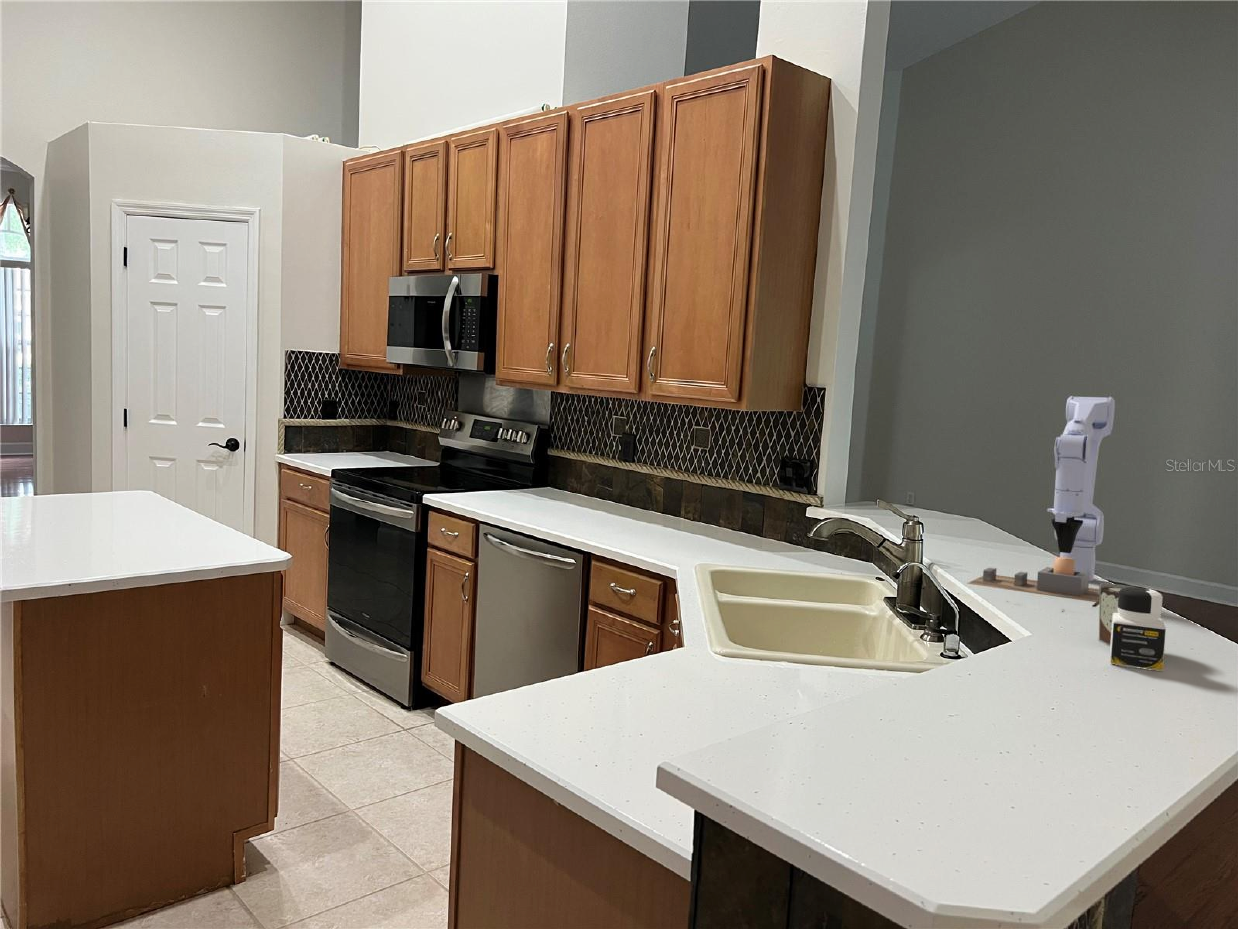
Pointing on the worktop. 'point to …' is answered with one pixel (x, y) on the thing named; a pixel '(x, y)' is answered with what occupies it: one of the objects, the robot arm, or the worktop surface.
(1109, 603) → the food container
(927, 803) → the worktop surface
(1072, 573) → the peg
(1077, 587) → the socket
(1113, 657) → the medicine bottle
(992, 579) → the dock board
